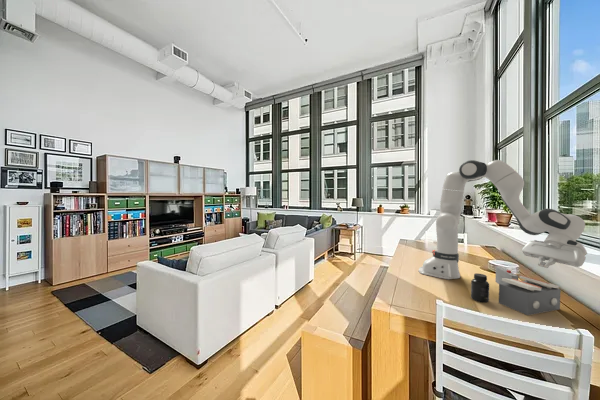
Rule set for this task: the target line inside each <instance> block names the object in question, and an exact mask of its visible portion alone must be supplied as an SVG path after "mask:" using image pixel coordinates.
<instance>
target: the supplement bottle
mask: <svg viewBox="0 0 600 400" xmlns="http://www.w3.org/2000/svg"><path fill="white" fill-rule="evenodd" d="M470 299H472V300H473V301H475V302H477V303H483V304H485V303H489V300H490V283H489V281H488V276H487V275H486V274H482V273H474V274H473V278H472V280H470Z"/></svg>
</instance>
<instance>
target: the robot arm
mask: <svg viewBox="0 0 600 400" xmlns="http://www.w3.org/2000/svg"><path fill="white" fill-rule="evenodd" d="M482 178H485V179H487V180H489V181H490V182H491V183H492V184H493V185H494V187H495V188H496V189H497V190H498V192H499V194H500V198H501V200H502V202H504V205H506V206H505V207H506V208H507V209H508V210H509V211H510V212H511V214H512V215H513V216H514V218H515V219H516V221H517V224H518V227H519V229H520V230H522V231H523V232H524V233H525V234H527V235H530V236H539V235H541V234H543V233H545V232H548V235H547V237H546V238H545V239H544V241H542V240H536V239H534V240H530V241H528V242H527V243H526V244H524V246H523V247H522V249H521V252H522V254H523V255H524V256H527V257H530V258H535V259H538V263H537V265H538V267H541V268H546V269H548V268H549V267H550V266H553V265H555V264H556V263H558V264H562V265H567V266H572V267H577V268H580V267H582V266H583V264H584V263H585V261H586V255H587V254H588V252H587V250H586V248H585V247H584V245H583V244H582V243H581V242H580V241H577V240H578V239H579V238H580V237H581V236H582V235H583V233H584V230H585V228H586V221H585V220H584V219H583V218H582V217H580V216H579V215H575V214H573V213H572V214H571V213H569V214H567V213H562V212H560V211H558V210H555V209H553V208H543V209H540V210H539V211H535V212H534V213H530V212H529V211H528V210H527V208H526V207H525V206H524V204H523V203H522V202H521V199H520V195H521V193H522V191H523V189H524V187H525V180H524V178H523V177H522V175H521V174H520V173H519V172H517V171H516V170H515V169H514V168H513V167H511V166H510V165H509V164H508V163H506V162H505V161H503V160H500V159H494V160H492V161H490V162H489V163H485V162H481V161H479V160H471V159H470V160H467V161H464V162H463V163H461V165H459V169H458V171H451V172H449V173H447V174H446V176H445V179H444V182H443V185H442V191H441V195H440V196H441V197H440V201H439V203H440V205H439V215H438V216H437V217H436V220H435V228H436V229H435V230H436V232H435V233H436V250H435V249H432V251H431V252H432V256H431V257H429V258H427V259H426V260H424V261H423V264H422V266H420V267H419V268H418V272H419V274H421V275H426V276H431V277H435V278H440V279H444V280H452V279H455V280H457V279H460V278H461V273H460V269H459V262H460V261H459V260H460V255H459V236H458V235H459V233H458V231H459V229H458V227H459V224H460V219H461V212H462V204H463V199H464V192H465V187H466V184H467V183H468V182H473V181H478V180H482ZM545 261H546V262H545Z"/></svg>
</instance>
